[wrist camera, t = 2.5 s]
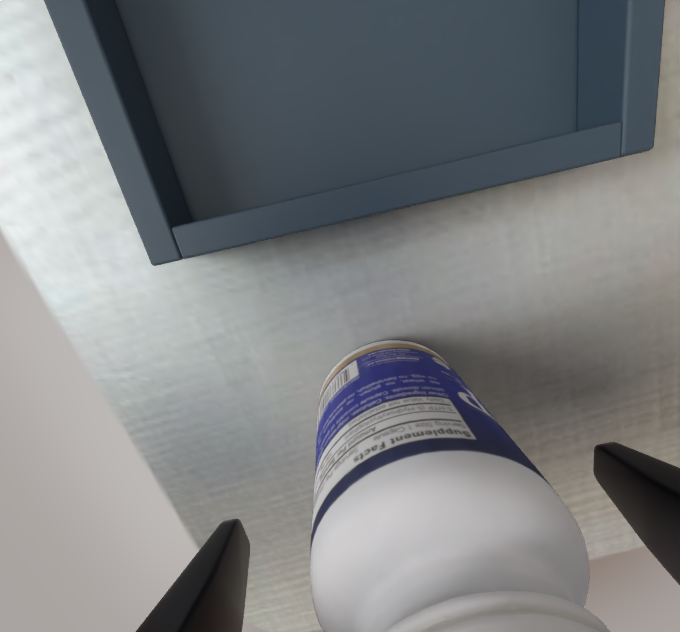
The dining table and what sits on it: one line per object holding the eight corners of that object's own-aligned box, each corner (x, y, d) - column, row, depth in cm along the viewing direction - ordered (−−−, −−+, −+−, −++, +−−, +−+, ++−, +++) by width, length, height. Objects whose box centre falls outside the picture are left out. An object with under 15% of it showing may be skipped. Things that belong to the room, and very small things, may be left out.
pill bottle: (472, 432, 12) (790, 903, 4) (348, 475, 13) (390, 986, 4) (434, 312, 11) (826, 664, 2) (294, 366, 11) (193, 831, 3)
